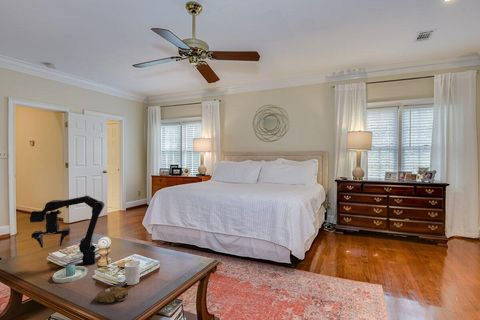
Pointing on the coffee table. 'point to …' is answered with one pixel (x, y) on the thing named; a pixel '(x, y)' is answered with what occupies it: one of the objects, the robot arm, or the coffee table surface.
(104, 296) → the decorative rock
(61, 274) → the ceramic dish
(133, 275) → the white cup
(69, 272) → the bead
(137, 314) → the coffee table surface
